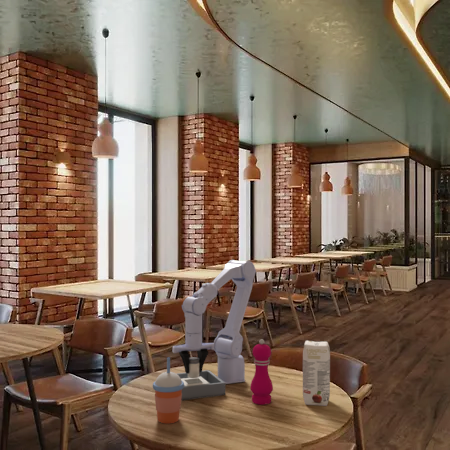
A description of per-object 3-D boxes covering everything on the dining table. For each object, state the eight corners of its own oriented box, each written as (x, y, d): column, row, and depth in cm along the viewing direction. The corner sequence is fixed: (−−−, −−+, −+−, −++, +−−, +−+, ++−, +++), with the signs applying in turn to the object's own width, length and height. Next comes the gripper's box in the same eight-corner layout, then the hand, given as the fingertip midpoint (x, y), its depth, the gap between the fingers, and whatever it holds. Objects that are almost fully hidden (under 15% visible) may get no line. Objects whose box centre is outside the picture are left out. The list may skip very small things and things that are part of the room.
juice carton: (329, 407, 157) (330, 346, 157) (302, 405, 159) (302, 344, 159) (329, 399, 165) (330, 340, 165) (303, 397, 167) (303, 339, 167)
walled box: (208, 381, 183) (208, 370, 183) (225, 394, 169) (225, 382, 169) (163, 386, 177) (163, 374, 177) (176, 401, 162) (176, 388, 162)
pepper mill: (271, 406, 158) (271, 342, 158) (248, 404, 160) (248, 341, 160) (273, 398, 165) (274, 337, 165) (252, 396, 167) (252, 336, 167)
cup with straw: (146, 422, 145) (146, 359, 145) (164, 411, 153) (164, 352, 153) (172, 428, 141) (172, 363, 141) (189, 417, 149) (190, 356, 149)
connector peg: (199, 374, 175) (200, 357, 175) (198, 378, 171) (198, 360, 171) (188, 374, 175) (188, 357, 175) (186, 377, 171) (187, 360, 171)
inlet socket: (201, 383, 178) (201, 376, 178) (209, 391, 171) (209, 383, 171) (178, 386, 175) (178, 379, 175) (185, 394, 167) (185, 386, 167)
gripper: (209, 328, 179) (209, 366, 179) (170, 331, 174) (169, 371, 174) (216, 332, 173) (216, 372, 173) (175, 335, 167) (175, 376, 167)
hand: (193, 372), depth 173 cm, fingers closed on connector peg, 4 cm apart
